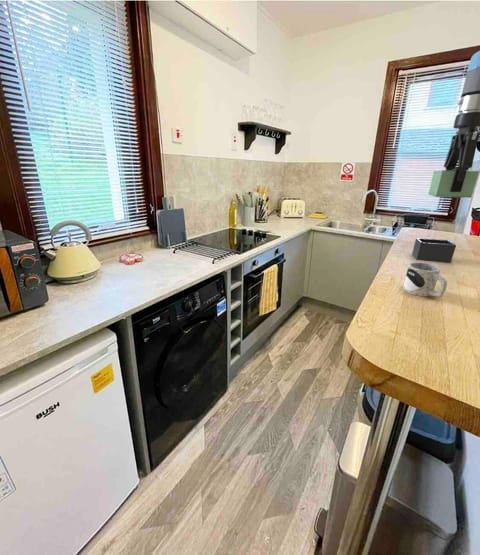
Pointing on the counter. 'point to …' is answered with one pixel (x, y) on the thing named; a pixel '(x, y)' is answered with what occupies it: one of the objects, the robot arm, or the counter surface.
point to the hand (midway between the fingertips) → (450, 190)
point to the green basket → (444, 182)
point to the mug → (423, 280)
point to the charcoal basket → (433, 250)
